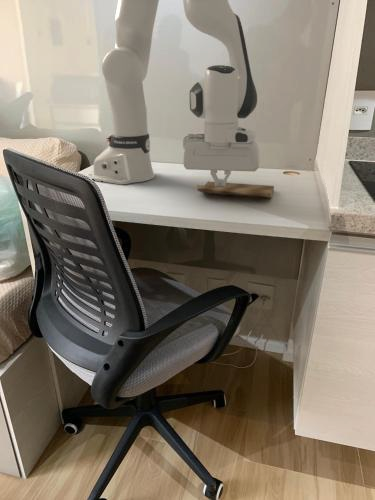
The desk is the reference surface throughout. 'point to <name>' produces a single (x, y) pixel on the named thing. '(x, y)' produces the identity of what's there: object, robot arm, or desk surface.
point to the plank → (235, 191)
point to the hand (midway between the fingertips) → (220, 186)
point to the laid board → (245, 186)
